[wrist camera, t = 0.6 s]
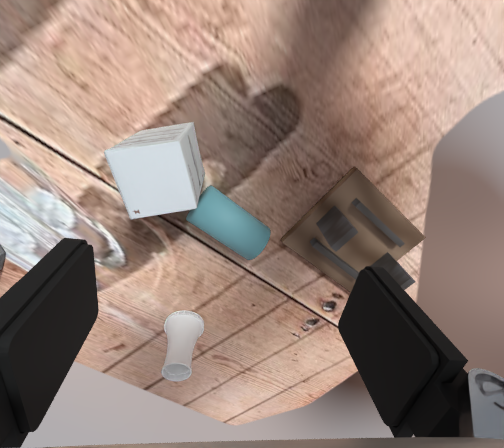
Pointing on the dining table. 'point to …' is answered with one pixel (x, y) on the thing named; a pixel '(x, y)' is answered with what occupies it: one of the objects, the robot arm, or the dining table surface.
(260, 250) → the light blue cylinder
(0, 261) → the coffeepot
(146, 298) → the dining table surface
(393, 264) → the roll holder
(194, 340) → the vase
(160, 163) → the supplement box
